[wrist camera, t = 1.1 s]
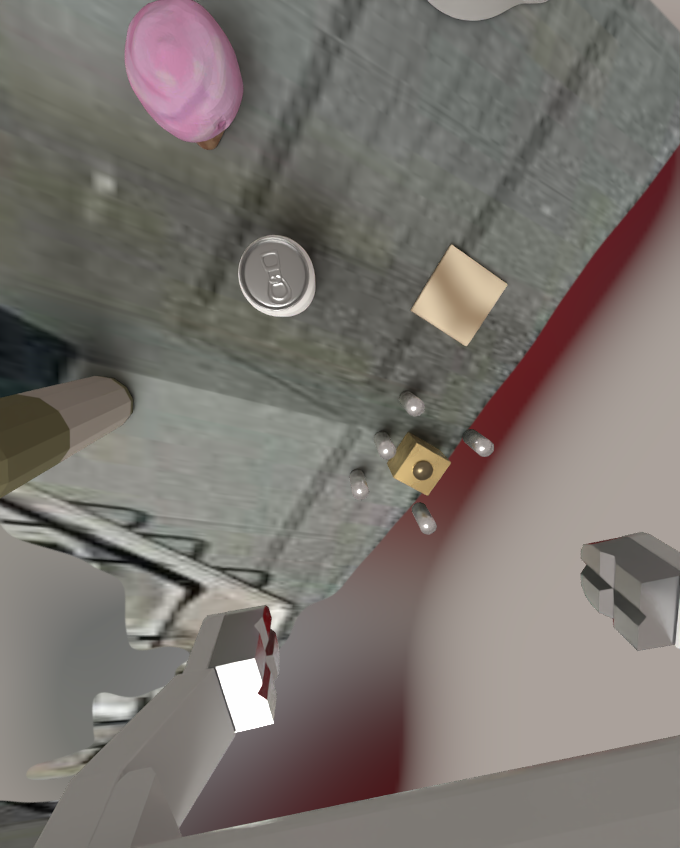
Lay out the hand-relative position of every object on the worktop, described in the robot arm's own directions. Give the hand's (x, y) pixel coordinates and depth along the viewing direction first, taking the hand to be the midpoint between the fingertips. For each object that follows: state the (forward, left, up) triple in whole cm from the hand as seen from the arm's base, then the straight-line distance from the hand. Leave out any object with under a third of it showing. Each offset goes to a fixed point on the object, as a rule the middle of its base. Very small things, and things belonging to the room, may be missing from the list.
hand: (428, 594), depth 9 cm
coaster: (-15, +7, -36) cm, 40 cm away
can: (-6, -10, -37) cm, 38 cm away
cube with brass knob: (+4, +14, -36) cm, 39 cm away
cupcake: (-16, -24, -37) cm, 47 cm away
